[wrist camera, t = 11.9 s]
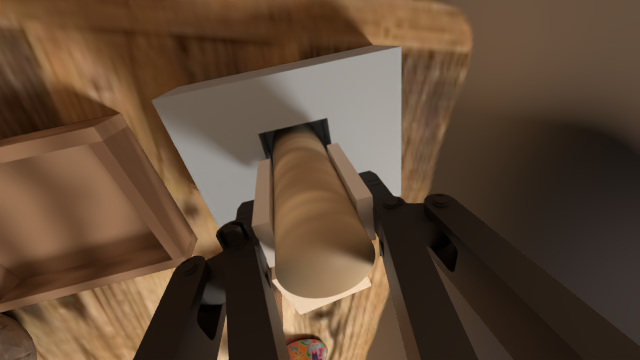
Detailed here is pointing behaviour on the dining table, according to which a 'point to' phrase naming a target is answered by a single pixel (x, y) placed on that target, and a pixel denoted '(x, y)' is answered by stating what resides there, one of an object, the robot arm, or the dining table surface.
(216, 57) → the dining table surface
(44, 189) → the tray
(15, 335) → the bowl
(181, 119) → the dowel block
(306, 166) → the dowel
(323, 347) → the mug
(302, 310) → the cream rectangular block
